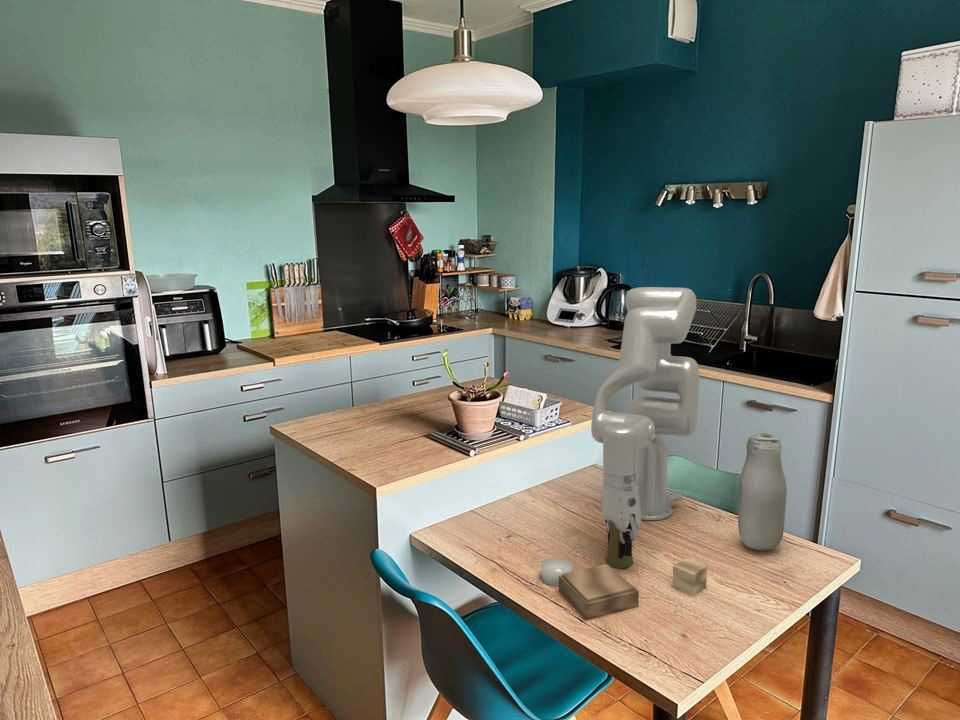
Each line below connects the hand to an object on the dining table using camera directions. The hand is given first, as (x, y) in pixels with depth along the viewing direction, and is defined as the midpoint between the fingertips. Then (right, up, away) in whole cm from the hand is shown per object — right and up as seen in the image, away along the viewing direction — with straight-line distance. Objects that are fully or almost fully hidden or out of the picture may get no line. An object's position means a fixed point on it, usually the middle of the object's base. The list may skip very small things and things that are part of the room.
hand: (619, 551), depth 158 cm
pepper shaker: (0, -2, +1) cm, 2 cm away
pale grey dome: (-15, -4, -5) cm, 17 cm away
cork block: (+13, -5, -11) cm, 17 cm away
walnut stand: (-7, -6, -14) cm, 17 cm away
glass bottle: (+34, -1, +5) cm, 35 cm away
